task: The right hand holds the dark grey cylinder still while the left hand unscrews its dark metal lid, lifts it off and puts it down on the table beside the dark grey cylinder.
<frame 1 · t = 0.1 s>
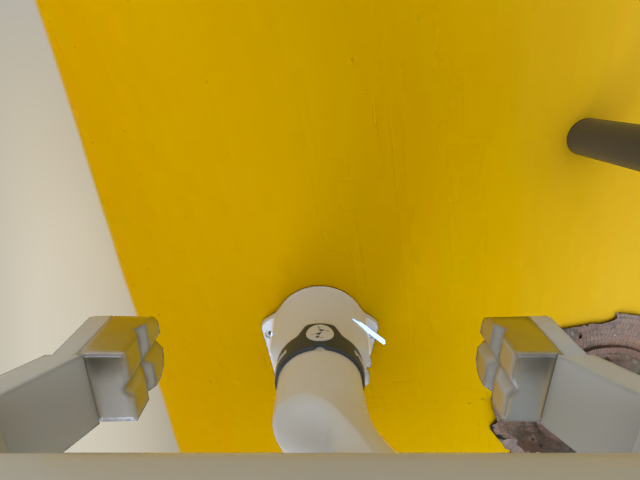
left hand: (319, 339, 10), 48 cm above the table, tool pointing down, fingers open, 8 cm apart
dark grey cylinder: (584, 136, 55), on the table
sculpture: (587, 392, 71), on the table
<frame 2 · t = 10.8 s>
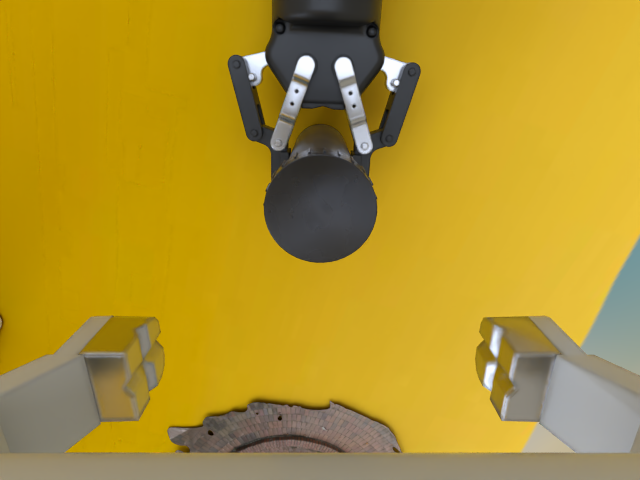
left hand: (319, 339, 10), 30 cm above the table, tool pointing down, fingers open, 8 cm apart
dark grey cylinder: (320, 150, 38), on the table, touching right hand
lid: (320, 209, 21), point 19 cm above the table, screwed on, not yet turned
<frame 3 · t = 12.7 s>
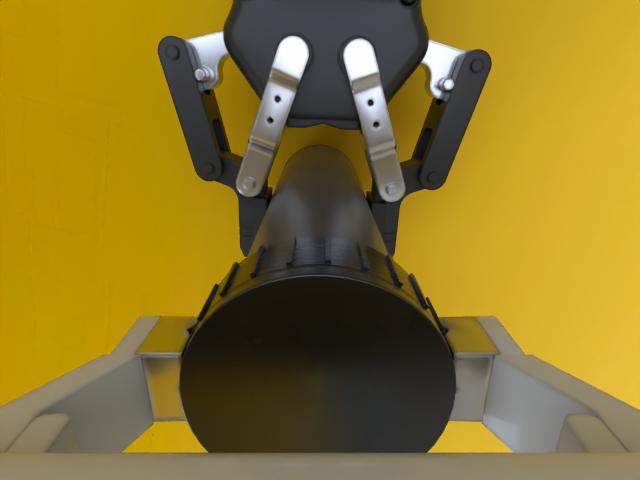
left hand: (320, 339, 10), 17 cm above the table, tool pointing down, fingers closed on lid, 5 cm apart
right hand: (317, 262, 21), fingers closed on dark grey cylinder, 5 cm apart
dark grey cylinder: (319, 182, 26), on the table, touching right hand
lid: (317, 386, 9), point 19 cm above the table, screwed on, not yet turned, touching left hand
when the left hand's fingers open (18 cm above the table, at t = 14.0 s): lid stays where it is, point 19 cm above the table.
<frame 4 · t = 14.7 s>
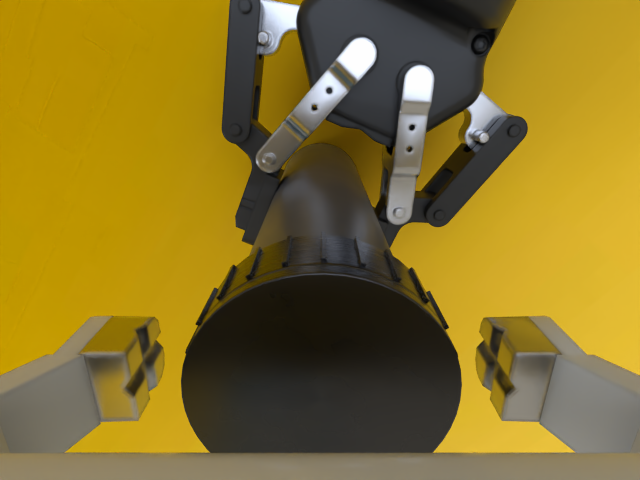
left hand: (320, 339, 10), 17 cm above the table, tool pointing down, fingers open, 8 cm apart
dark grey cylinder: (320, 180, 26), on the table, touching right hand
lid: (321, 386, 9), point 19 cm above the table, turned 84° so far, risen 0.3 cm, still on its thread
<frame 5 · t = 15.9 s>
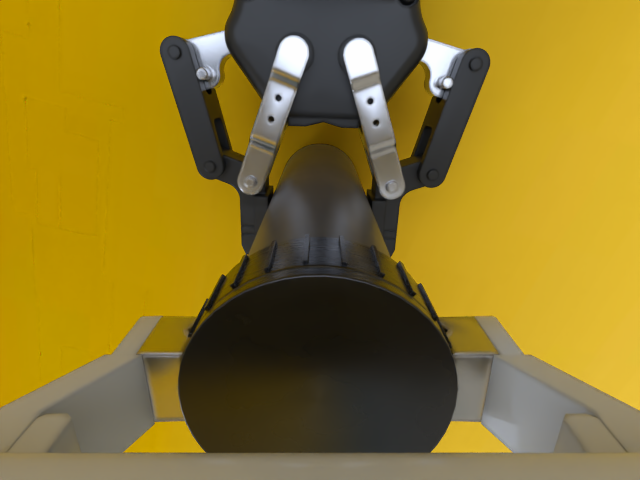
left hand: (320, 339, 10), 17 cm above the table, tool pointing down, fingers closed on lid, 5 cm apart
right hand: (318, 260, 21), fingers closed on dark grey cylinder, 5 cm apart
dark grey cylinder: (319, 181, 26), on the table, touching right hand
lid: (317, 388, 9), point 19 cm above the table, turned 84° so far, risen 0.3 cm, still on its thread, touching left hand
when the left hand's fingers open (2 cm above the table, at t = 22.1 s): lid drops 2 cm, point 2 cm above the table.
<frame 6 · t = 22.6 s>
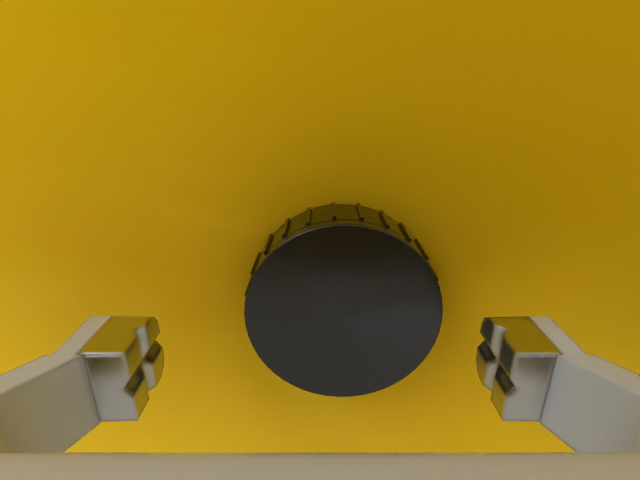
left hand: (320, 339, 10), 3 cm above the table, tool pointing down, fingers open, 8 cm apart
lid: (342, 311, 12), point 2 cm above the table, off its thread
when the right hand's fingers open (7 cm above the table, at t = 23.1 s): dark grey cylinder stays where it is, on the table.
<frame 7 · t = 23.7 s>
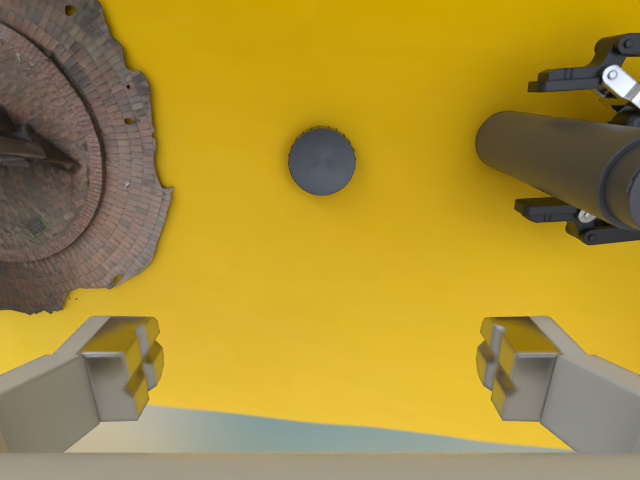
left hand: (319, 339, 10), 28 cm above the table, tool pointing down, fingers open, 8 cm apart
right hand: (525, 150, 29), fingers open, 8 cm apart
dark grey cylinder: (503, 139, 35), on the table
lid: (321, 162, 35), point 2 cm above the table, off its thread
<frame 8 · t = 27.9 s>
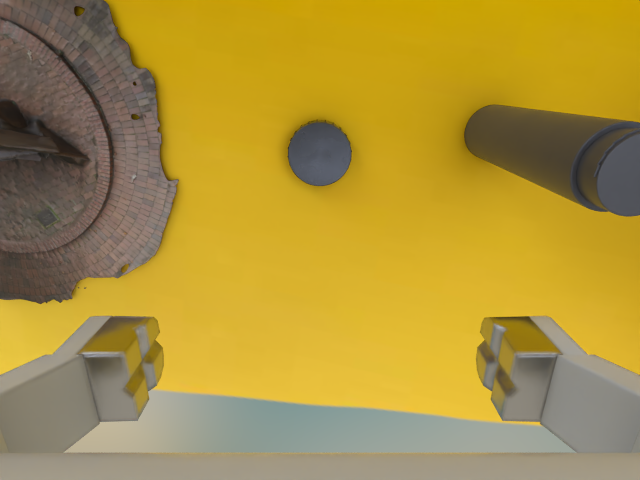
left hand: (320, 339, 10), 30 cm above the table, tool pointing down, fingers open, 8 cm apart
dark grey cylinder: (490, 132, 38), on the table
sculpture: (3, 131, 37), on the table
lid: (319, 154, 37), point 2 cm above the table, off its thread
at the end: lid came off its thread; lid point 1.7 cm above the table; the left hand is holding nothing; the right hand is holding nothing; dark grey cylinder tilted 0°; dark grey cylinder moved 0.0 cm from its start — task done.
